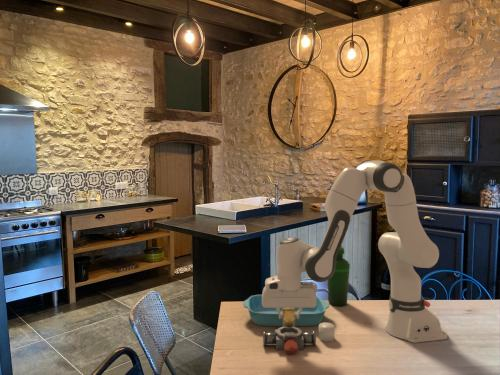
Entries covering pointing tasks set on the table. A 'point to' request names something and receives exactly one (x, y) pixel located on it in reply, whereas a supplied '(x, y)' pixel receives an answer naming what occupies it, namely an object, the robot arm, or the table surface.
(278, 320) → the casserole dish
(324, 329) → the cream pebble-shaped knob
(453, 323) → the table surface
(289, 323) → the brass coupling
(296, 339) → the valve body
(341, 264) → the bottle
